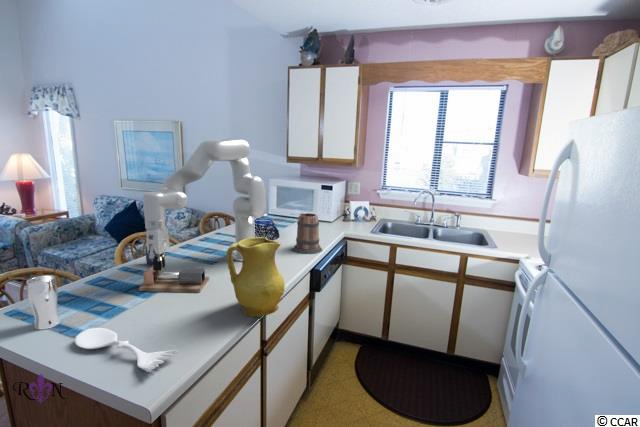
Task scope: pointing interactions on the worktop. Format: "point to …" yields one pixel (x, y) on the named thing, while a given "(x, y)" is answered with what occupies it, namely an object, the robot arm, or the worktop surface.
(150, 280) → the socket block
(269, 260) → the pitcher
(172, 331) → the worktop surface
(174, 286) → the base board
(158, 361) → the spoon
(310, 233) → the tankard
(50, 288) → the beer glass
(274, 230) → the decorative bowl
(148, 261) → the flask
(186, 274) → the outer sleeve
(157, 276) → the brushed metal peg
